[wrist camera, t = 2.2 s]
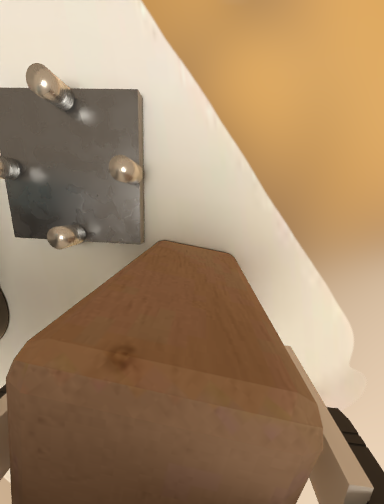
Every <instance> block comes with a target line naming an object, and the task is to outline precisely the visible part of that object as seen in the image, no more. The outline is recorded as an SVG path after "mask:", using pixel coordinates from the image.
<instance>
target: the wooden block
mask: <svg viewBox="0 0 384 504" xmlns="http://www.w3.org/2000/svg"><path fill="white" fill-rule="evenodd" d="M6 391H7V412H8V433H9V454H10V474H11V495H12V504H296V502H297V500H298V498H299V496H300V494H301V492H302V490H303V488H304V486H305V484H306V482H307V480H308V478H309V476H310V474H311V472H312V470H313V468H314V466H315V464H316V462H317V460H318V458H319V456H320V454H321V452H322V450H323V426H322V421H321V417H320V413H319V409H318V405H317V403H316V401H315V399H314V398H313V396H312V394H311V392H310V391H309V389H308V387H307V385H306V384H305V382H304V380H303V378H302V376H301V375H300V373H299V371H298V369H297V368H296V366H295V364H294V362H293V361H292V359H291V357H290V355H289V353H288V352H287V350H286V348H285V346H284V345H283V343H282V341H281V339H280V338H279V336H278V334H277V332H276V330H275V329H274V327H273V325H272V323H271V322H270V320H269V318H268V316H267V315H266V313H265V311H264V309H263V307H262V306H261V304H260V302H259V300H258V299H257V297H256V295H255V293H254V291H253V290H252V288H251V286H250V284H249V283H248V281H247V279H246V277H245V276H244V274H243V272H242V270H241V268H240V267H239V265H238V263H237V261H236V260H235V258H234V257H233V256H232V255H230V254H228V253H223V252H218V251H213V250H209V249H204V248H199V247H194V246H189V245H184V244H179V243H174V242H170V241H165V240H164V241H159V242H157V243H156V244H155V245H153V246H152V247H151V248H149V249H148V250H147V251H145V252H144V253H143V254H141V255H140V256H139V257H138V258H136V259H135V260H134V261H132V262H131V263H130V264H128V265H127V266H126V267H124V268H123V269H122V270H120V271H119V272H118V273H117V274H115V275H114V276H113V277H111V278H110V279H109V280H107V281H106V282H105V283H103V284H102V285H101V286H99V287H98V288H97V289H96V290H94V291H93V292H92V293H90V294H89V295H88V296H86V297H85V298H84V299H82V300H81V301H80V302H78V303H77V304H76V305H74V306H73V307H72V308H71V309H69V310H68V311H67V312H65V313H64V314H63V315H61V316H60V317H59V318H57V319H56V320H55V321H53V322H52V323H51V324H50V325H48V326H47V327H46V328H44V329H43V330H42V331H40V332H39V333H38V334H36V335H35V336H34V337H32V338H31V339H30V340H29V341H27V342H26V344H25V345H24V346H23V348H22V349H21V351H20V352H19V353H18V355H17V356H16V357H15V359H14V360H13V363H12V365H11V367H10V370H9V372H8V374H7V377H6Z"/></svg>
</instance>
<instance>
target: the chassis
mask: <svg viewBox="0 0 384 504" xmlns="http://www.w3.org/2000/svg"><path fill="white" fill-rule="evenodd" d="M26 81H27V84H28V86H29V88H0V153H1V156H0V178H1V179H5V182H6V188H7V193H8V199H9V205H10V211H11V217H12V223H13V228H14V234H15V237H21V238H38V239H48V242H49V243H50V245H51V246H52V247H54V248H56V249H63V248H67V247H70V246H73V245H77V244H80V243H82V242H83V241H91V242H108V243H126V244H142V243H144V175H143V102H142V96H141V94H140V92H139V91H138V89H70V88H69V87H68V86H67V85H66V84H65V83H64V82H62V81H61V80H60V79H59V78H58V77H57V76H56V75H54V74H53V73H52V72H51V71H50V70H49V69H47V68H46V67H45V66H44V65H42V64H39V63H34V64H32V65H31V66H29V68H28V69H27V72H26Z"/></svg>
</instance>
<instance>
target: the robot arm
mask: <svg viewBox="0 0 384 504" xmlns="http://www.w3.org/2000/svg"><path fill="white" fill-rule="evenodd" d="M7 325H8V309H7V305H6V302H5V299H4V297H3V295H2V293H1V291H0V338H1V337H2V336H3V334H4V333H5V331H6V328H7ZM285 348H286V350H287V352H288V353H289V355H290V357H291V359H292V361H293V362H294V364H295V366H296V368H297V369H298V371H299V373H300V375H301V376H302V378H303V380H304V382H305V384H306V385H307V387H308V389H309V391H310V392H311V394H312V396H313V398H314V399H315V401H316V403H317V405H318V409H319V413H320V417H321V421H322V426H323V450H322V452H321V454H320V456H319V458H318V460H317V462H316V464H315V466H314V468H313V470H312V472H311V474H310V476H309V478H310V481H311V483H312V486H313V489H314V491H315V494H316V497H317V499H318V502H319V504H384V472H383V470H382V469H381V467H380V466H379V464H378V463H377V461H376V459H375V458H374V457H373V455H372V453H371V452H370V450H369V449H368V448H367V447H366V445H365V443H364V441H363V440H362V438H361V437H360V436H359V435H358V432H357V431H356V429H355V428H354V426H353V425H352V423H351V422H350V420H349V419H348V418H347V417H346V416H345V415H344V414H343V413H342V412H341V411H340V410H339V409H338V408H329V407H326V406H325V404H324V402H323V401H322V399H321V397H320V396H319V394H318V392H317V391H316V389H315V387H314V385H313V384H312V382H311V380H310V379H309V377H308V375H307V374H306V372H305V370H304V369H303V367H302V365H301V363H300V362H299V360H298V358H297V357H296V355H295V353H294V352H293V350H292V348H291V346H285ZM9 468H10V454H9V433H8V412H7V391H6V384H5V385H4V386H3V387H2V388H1V389H0V480H1V479H2V478H3V476H4V475H5V474H6V472H7V471H8V470H9Z"/></svg>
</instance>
